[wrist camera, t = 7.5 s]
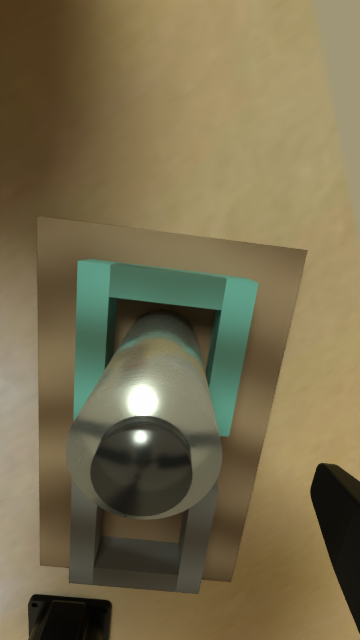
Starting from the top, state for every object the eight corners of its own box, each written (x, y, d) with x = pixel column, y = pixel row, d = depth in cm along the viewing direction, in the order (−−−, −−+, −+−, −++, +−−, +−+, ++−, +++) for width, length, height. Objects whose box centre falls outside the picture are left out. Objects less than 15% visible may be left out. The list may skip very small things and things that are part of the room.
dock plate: (228, 566, 22) (236, 616, 19) (46, 550, 21) (25, 599, 18) (299, 249, 16) (327, 250, 13) (46, 217, 15) (14, 211, 12)
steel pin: (192, 379, 16) (213, 547, 7) (124, 372, 16) (54, 535, 7) (201, 313, 15) (239, 407, 6) (129, 305, 15) (56, 390, 6)
